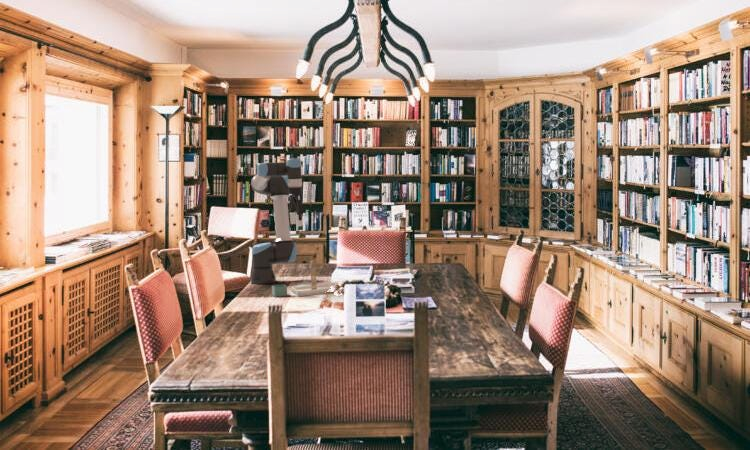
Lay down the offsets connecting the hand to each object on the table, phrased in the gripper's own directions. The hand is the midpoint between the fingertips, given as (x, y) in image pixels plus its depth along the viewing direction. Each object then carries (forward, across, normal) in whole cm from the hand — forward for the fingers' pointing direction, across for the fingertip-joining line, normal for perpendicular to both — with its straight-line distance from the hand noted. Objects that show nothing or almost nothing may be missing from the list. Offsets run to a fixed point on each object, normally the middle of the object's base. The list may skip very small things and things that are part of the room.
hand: (296, 225), depth 379 cm
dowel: (+35, +12, +5) cm, 37 cm away
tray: (+36, +12, +5) cm, 38 cm away
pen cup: (+36, +10, -14) cm, 40 cm away
